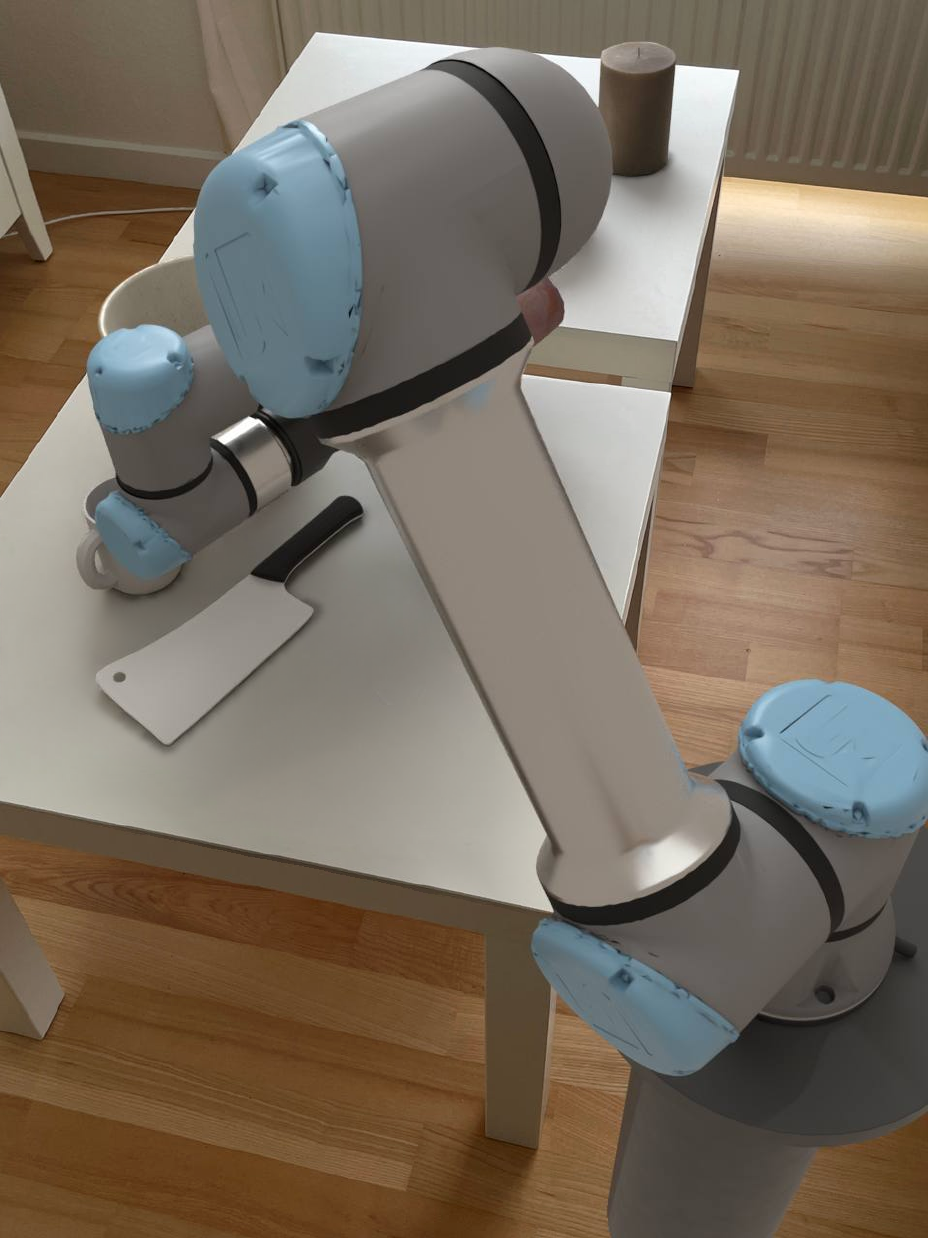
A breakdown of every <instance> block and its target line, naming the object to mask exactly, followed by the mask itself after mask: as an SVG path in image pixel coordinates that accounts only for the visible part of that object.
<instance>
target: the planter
mask: <svg viewBox="0 0 928 1238" xmlns="http://www.w3.org/2000/svg"><path fill="white" fill-rule="evenodd" d="M209 324H210V322H209V319H208V316H207V314H206V311H205V308H204V304H203V301H202V297H201V293H200V289H199V285H198V280H197V275H196V268H195V261H194V253H193V254H188V255H181V256H178V257H173V258H169V259H166V260H163V261H160V262H157V263H154V264H151V265H149V266H147V267H145V268H143V269H141V270H139V271H136V272H135V273H133V274H132V275H130V276H129V277H127V278H125V279H124V280H123V281H121V282H120V283H119V284H118V285H117V286H116V287H114V289H112V291H111V292H110V293H109V294H108V295H107V297H106V298H105V299H104V300H103V303H102V304H101V307H100V309H99V311H98V316H97V329H98V333H99V336H100V338H101V340H102V339H103V338H104V337H106V336H107V335H109V334H111V333H113V332H115V331H117V330H119V329H122V328H126V329H135V328H137V327H138V326H139V325H157V326H162V327H165V328H168V329H170V330H172V331H174V332H176V333H177V334H178V335H179V336H180V337H181V338H182V337H184V336H186V335H188V334H190V333H192V332H194V331H196V330H198V329H200V328H202V327H204V326H206V325H209Z"/></svg>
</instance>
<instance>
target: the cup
mask: <svg viewBox="0 0 928 1238" xmlns="http://www.w3.org/2000/svg"><path fill="white" fill-rule="evenodd" d="M117 490H118V485H117V482H116V478H115V475H112V476H109V477H107V478H104V479H102V480H101V481H99V482H97V483H96V484H95V485H94V486H92V487H91V488H90V489H89V490H88V491H87V493H86V494H85V496H84V497H83V501H82V512H83V515H84V517H85V521H86V524H87V527H88V529H89V530H88V531H87V532H86V533H85V534H84V535H83V537H82V538H81V539H80V541H79V543H78V545H77V548H76V554H75V562H76V568H77V570H78V573H79V575H80V577H81V580H82V581H83V582H84V583H85V585H86V586H87V587H89V588H90V589H92V590H99V591H107V590H109V589H112V588H114V589H115V590H118V591H120V592H123V593H125V594H129V595H132V596H133V595H134V596H137V595H138V596H141V595H142V596H143V595H148V594H153V593H156V592H159V591H161V590H163V589H164V588H166V587H168V586H169V585H170V584H171V583H172V582H173V581H174V580H175V579H176V578H177V576H178V575H179V573H180V571H181V569H182V564H181V565H179V566H177V567H176V568H174V569H172V570H170V571H169V572H167V573H165V574H163V575H161V576H160V577H158V578H155V579H152V580H145V579H141V578H139V577H136V576H134V575H133V574H132V573H130V572H129V571H128V570H126V569H125V568H124V567H123V566H122V565H121V564H120V563H119V562H118V561H117V560H116V559H115V557H114V556H113V555H112V554H111V552H110V551H109V550H108V548H107V547H106V545H105V543H104V542H103V540H102V538H101V536H100V534H99V532H98V530H97V527H96V524H95V515H96V514H95V511H96V507H97V505H98V504H99V503H100V502H101V501H103V500H104V499H106V498H107V497H108V496H109V493H111V492H113V491H114V492H116V491H117ZM96 553H97V555H98V557H99V561H100V564H101V567H102V569H103V571H102V572H100V571H98V568H97V565H96Z"/></svg>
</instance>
